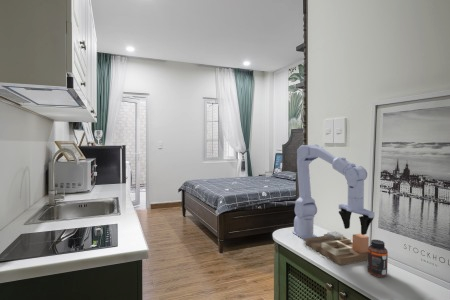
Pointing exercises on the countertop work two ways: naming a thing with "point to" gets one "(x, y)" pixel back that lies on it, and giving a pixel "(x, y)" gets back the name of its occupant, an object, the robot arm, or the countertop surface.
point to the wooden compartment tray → (340, 259)
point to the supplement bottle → (377, 258)
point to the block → (334, 236)
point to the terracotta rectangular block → (360, 243)
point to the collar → (341, 250)
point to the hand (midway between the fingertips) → (355, 231)
